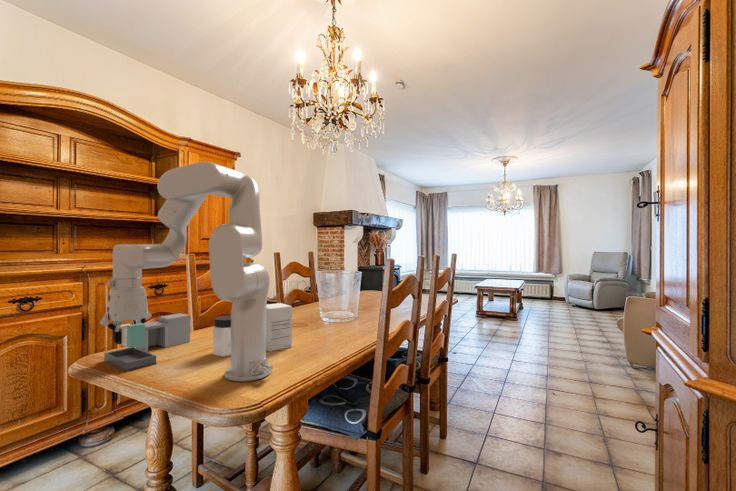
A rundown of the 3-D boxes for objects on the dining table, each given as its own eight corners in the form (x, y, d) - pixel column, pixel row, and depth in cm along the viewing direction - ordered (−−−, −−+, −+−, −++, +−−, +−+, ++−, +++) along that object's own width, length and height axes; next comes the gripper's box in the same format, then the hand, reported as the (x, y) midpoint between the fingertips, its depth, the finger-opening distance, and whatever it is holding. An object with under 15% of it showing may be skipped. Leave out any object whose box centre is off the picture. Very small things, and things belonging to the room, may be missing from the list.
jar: (215, 358, 111) (215, 321, 111) (210, 351, 118) (211, 316, 118) (243, 353, 116) (243, 318, 116) (238, 347, 123) (238, 314, 123)
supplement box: (257, 346, 125) (258, 305, 125) (280, 341, 131) (280, 302, 131) (269, 352, 118) (269, 308, 118) (292, 347, 124) (292, 305, 124)
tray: (156, 363, 106) (156, 355, 106) (126, 371, 99) (126, 363, 99) (132, 354, 115) (132, 346, 115) (104, 360, 108) (104, 353, 108)
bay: (190, 341, 130) (190, 315, 130) (144, 352, 117) (144, 323, 117) (180, 338, 134) (180, 313, 133) (135, 348, 121) (135, 320, 121)
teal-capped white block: (144, 345, 106) (144, 323, 106) (129, 348, 102) (130, 326, 102) (128, 339, 112) (129, 319, 112) (114, 341, 108) (114, 321, 108)
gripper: (100, 287, 99) (99, 350, 99) (161, 282, 113) (160, 338, 113) (90, 285, 103) (89, 346, 103) (150, 280, 117) (149, 334, 117)
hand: (126, 341), depth 108 cm, fingers closed on teal-capped white block, 4 cm apart
